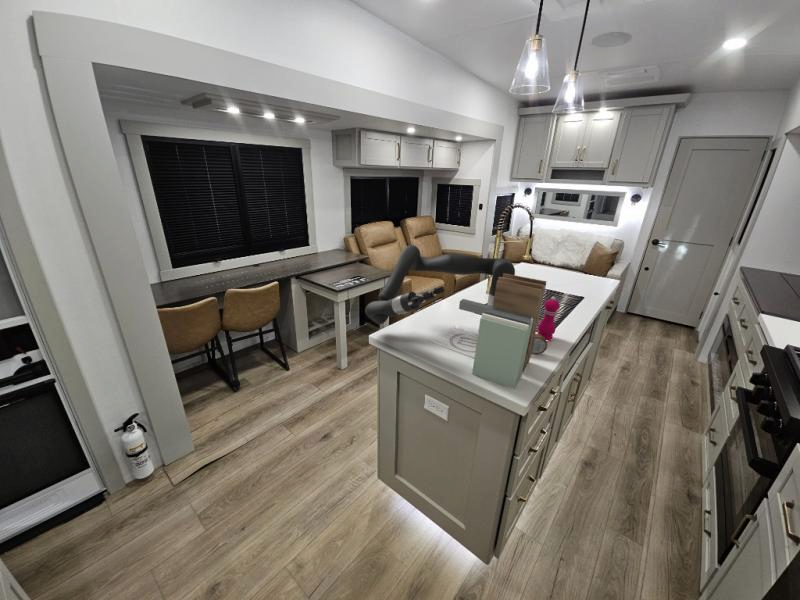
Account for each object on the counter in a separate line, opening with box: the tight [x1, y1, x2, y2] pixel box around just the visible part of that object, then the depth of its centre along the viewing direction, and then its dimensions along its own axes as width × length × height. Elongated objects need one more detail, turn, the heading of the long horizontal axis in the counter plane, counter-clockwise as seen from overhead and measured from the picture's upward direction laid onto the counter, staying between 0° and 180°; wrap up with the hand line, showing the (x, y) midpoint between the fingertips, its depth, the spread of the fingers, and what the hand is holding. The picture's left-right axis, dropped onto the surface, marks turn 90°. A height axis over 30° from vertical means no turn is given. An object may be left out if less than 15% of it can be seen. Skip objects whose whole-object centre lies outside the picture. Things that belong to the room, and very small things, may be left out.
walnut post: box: [493, 273, 547, 373], centre depth 118 cm, size 9×15×33 cm, turn 57°
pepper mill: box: [537, 296, 561, 341], centre depth 141 cm, size 7×7×20 cm
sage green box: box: [471, 313, 533, 390], centre depth 110 cm, size 9×15×23 cm, turn 57°
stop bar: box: [458, 298, 532, 326], centre depth 108 cm, size 3×24×3 cm, turn 56°
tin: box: [531, 333, 548, 355], centre depth 130 cm, size 15×3×8 cm, turn 74°
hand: (438, 291), depth 117 cm, fingers open, 8 cm apart
